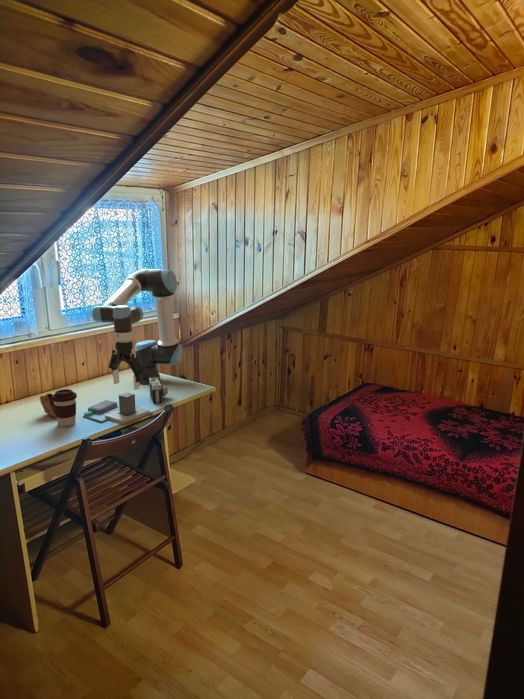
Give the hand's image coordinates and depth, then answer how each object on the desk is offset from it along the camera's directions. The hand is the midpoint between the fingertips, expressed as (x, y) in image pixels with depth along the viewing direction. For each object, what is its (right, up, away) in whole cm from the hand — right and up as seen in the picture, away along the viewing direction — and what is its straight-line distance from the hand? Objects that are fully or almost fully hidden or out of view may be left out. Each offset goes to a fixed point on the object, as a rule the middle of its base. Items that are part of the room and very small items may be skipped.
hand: (126, 386), depth 211 cm
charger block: (0, -14, +3) cm, 14 cm away
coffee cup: (-24, -16, -8) cm, 30 cm away
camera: (+9, -9, +27) cm, 29 cm away
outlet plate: (0, -14, +3) cm, 14 cm away
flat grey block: (-14, -12, +11) cm, 22 cm away
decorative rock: (-34, -14, +2) cm, 37 cm away
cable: (-14, -14, -1) cm, 20 cm away
